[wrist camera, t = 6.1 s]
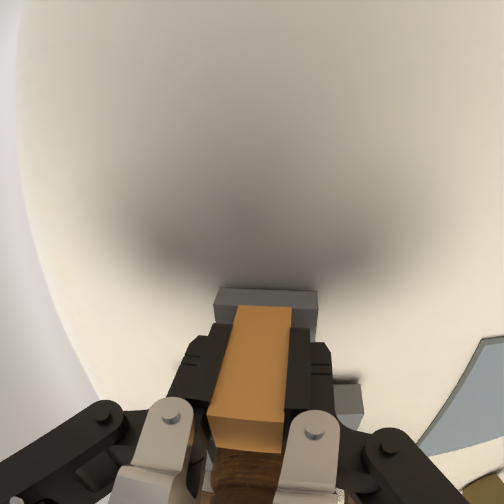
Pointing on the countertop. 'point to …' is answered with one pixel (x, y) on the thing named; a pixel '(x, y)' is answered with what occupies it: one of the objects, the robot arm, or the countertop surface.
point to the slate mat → (471, 404)
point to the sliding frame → (263, 370)
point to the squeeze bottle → (485, 491)
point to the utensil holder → (245, 476)
